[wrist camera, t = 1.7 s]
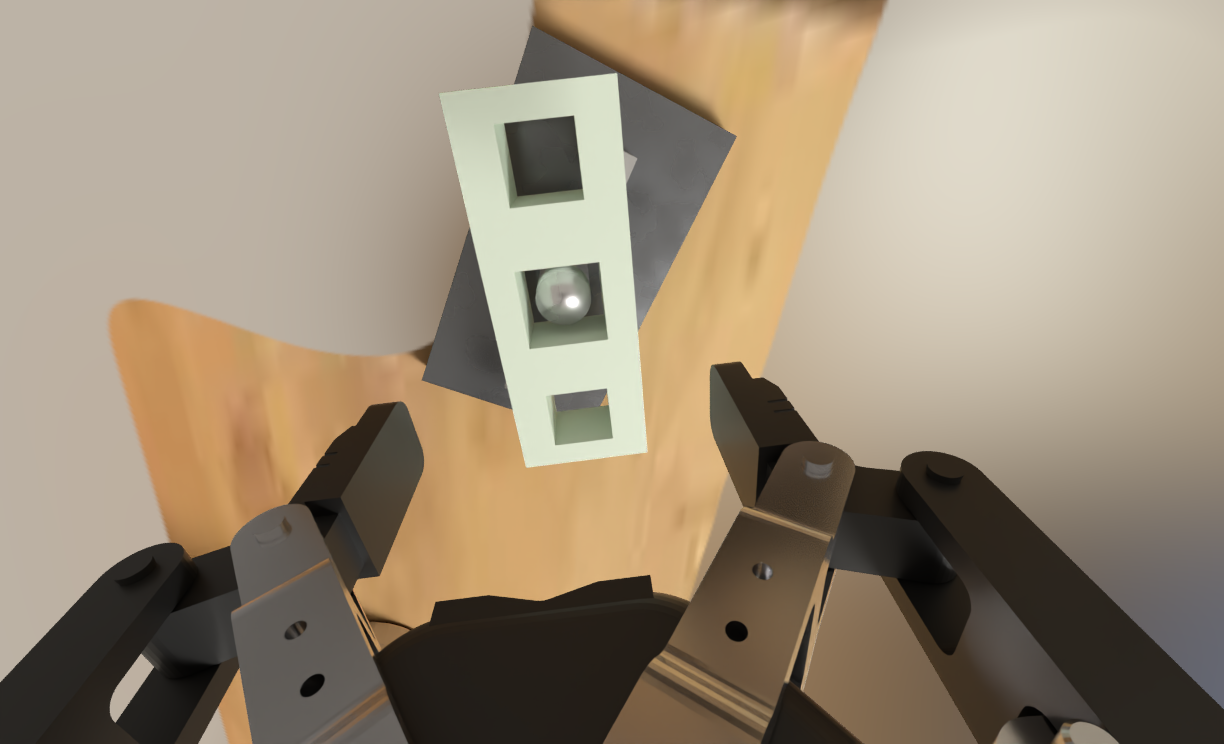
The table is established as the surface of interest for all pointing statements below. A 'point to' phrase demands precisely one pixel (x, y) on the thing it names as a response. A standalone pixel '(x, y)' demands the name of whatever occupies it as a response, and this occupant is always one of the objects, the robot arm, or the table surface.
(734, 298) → the table surface
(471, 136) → the flange bar
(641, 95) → the base
